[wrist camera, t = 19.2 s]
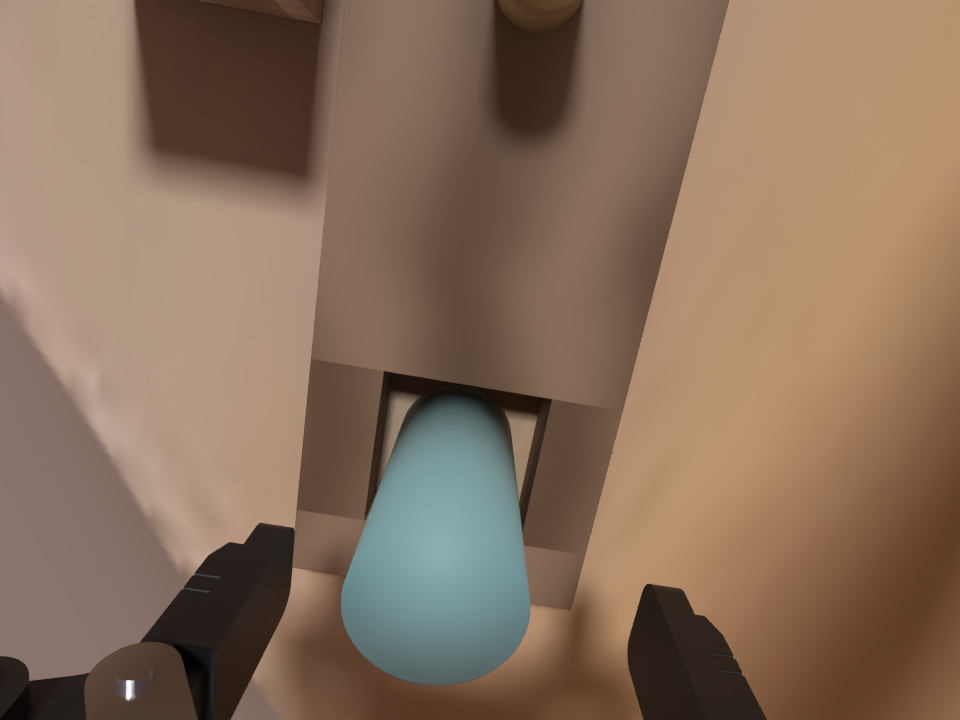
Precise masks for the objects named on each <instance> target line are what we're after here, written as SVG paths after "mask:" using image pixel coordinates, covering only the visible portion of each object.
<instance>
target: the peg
mask: <svg viewBox="0 0 960 720" xmlns="http://www.w3.org/2000/svg"><path fill="white" fill-rule="evenodd" d="M341 615H342V619H343V623H344V626H345V629H346V631H347V633H348V636H349V637H350V639H351V641H352V642H353V644H354V645H355V647H356V648H357V649H358V650H359V652H360V653H361V654H362V655H363V656H364V657H365V658H366V659H367V660H368V661H369V662H371V663H372V664H373V665H375V666H376V667H377V668H379V669H381V670H382V671H384V672H386V673H388V674H390V675H392V676H394V677H396V678H399V679H402V680H405V681H408V682H412V683H417V684H423V685H433V686H436V685H453V684H459V683H464V682H468V681H471V680H474V679H477V678H479V677H482V676H484V675H486V674H488V673H490V672H491V671H493V670H494V669H496V668H497V667H499V666H500V665H501V664H503V663H504V662H505V661H506V660H507V659H508V658H509V657H510V656H511V655H512V654H513V653H514V652H515V650H516V649H517V647H518V646H519V645H520V643H521V641H522V639H523V637H524V635H525V633H526V630H527V627H528V623H529V617H530V597H529V588H528V579H527V571H526V562H525V553H524V544H523V535H522V526H521V517H520V508H519V499H518V490H517V481H516V472H515V464H514V455H513V446H512V437H511V429H510V424H509V421H508V418H507V416H506V414H505V412H504V411H503V409H502V407H501V406H500V405H499V404H498V403H497V402H496V401H495V400H494V399H493V398H492V397H491V396H489V395H488V394H486V393H485V392H483V391H481V390H479V389H476V388H473V387H470V386H465V385H446V386H441V387H438V388H435V389H432V390H430V391H428V392H426V393H425V394H423V395H422V396H421V397H419V398H418V399H417V400H416V401H415V402H414V403H413V404H412V406H411V407H410V408H409V410H408V412H407V413H406V415H405V418H404V421H403V423H402V426H401V429H400V431H399V434H398V437H397V440H396V442H395V445H394V448H393V450H392V453H391V456H390V459H389V461H388V464H387V467H386V469H385V472H384V475H383V478H382V480H381V483H380V486H379V488H378V491H377V494H376V497H375V499H374V502H373V505H372V508H371V510H370V513H369V516H368V518H367V521H366V524H365V527H364V529H363V532H362V535H361V537H360V540H359V543H358V546H357V548H356V551H355V554H354V556H353V559H352V562H351V565H350V567H349V570H348V573H347V575H346V578H345V581H344V584H343V588H342V593H341Z"/></svg>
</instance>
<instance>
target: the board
mask: <svg viewBox="0 0 960 720" xmlns="http://www.w3.org/2000/svg"><path fill="white" fill-rule="evenodd" d="M728 3H729V0H345V8H344V18H343V29H342V39H341V50H340V60H339V71H338V81H337V91H336V102H335V112H334V123H333V133H332V144H331V154H330V165H329V175H328V186H327V196H326V207H325V217H324V228H323V238H322V249H321V259H320V270H319V280H318V291H317V301H316V312H315V322H314V333H313V343H312V354H311V364H310V375H309V385H308V396H307V406H306V417H305V427H304V438H303V448H302V459H301V469H300V480H299V490H298V501H297V511H296V522H295V540H294V552H293V565H292V568H299V569H305V570H312V571H318V572H325V573H331V574H338V575H344V576H346V575H347V573H348V570H349V567H350V565H351V562H352V559H353V556H354V554H355V551H356V548H357V546H358V543H359V540H360V537H361V535H362V532H363V529H364V527H365V524H366V521H367V518H368V516H369V513H370V510H371V508H372V505H373V502H374V499H375V497H376V494H377V491H375V488H376V480H377V473H378V466H379V458H380V451H381V444H382V436H383V429H384V422H385V415H386V407H387V400H388V393H389V385H390V378H391V372H393V373H399V374H405V375H411V376H417V377H423V378H429V379H435V380H441V381H447V382H453V383H459V384H465V385H471V386H476V387H482V388H488V389H494V390H500V391H506V392H512V393H518V394H524V395H530V396H536V397H542V399H541V404H540V408H539V413H538V418H537V422H536V427H535V432H534V436H533V441H532V445H531V450H530V455H529V459H528V464H527V469H526V473H525V478H524V482H523V487H522V492H521V496H520V501H519V508H520V517H521V526H522V535H523V544H524V553H525V562H526V571H527V579H528V588H529V597H530V604H534V605H540V606H547V607H553V608H560V609H566V610H571V608H572V604H573V600H574V596H575V593H576V589H577V585H578V581H579V577H580V573H581V569H582V566H583V562H584V558H585V554H586V550H587V546H588V542H589V539H590V535H591V531H592V527H593V523H594V519H595V515H596V512H597V508H598V504H599V500H600V496H601V492H602V489H603V485H604V481H605V477H606V473H607V469H608V465H609V462H610V458H611V454H612V450H613V446H614V442H615V438H616V435H617V431H618V427H619V423H620V419H621V415H622V411H623V408H624V404H625V400H626V396H627V392H628V388H629V384H630V381H631V377H632V373H633V369H634V365H635V361H636V357H637V354H638V350H639V346H640V342H641V338H642V334H643V330H644V327H645V323H646V319H647V315H648V311H649V307H650V304H651V300H652V296H653V292H654V288H655V284H656V280H657V277H658V273H659V269H660V265H661V261H662V257H663V253H664V250H665V246H666V242H667V238H668V234H669V230H670V226H671V223H672V219H673V215H674V211H675V207H676V203H677V199H678V196H679V192H680V188H681V184H682V180H683V176H684V172H685V169H686V165H687V161H688V157H689V153H690V149H691V145H692V142H693V138H694V134H695V130H696V126H697V122H698V119H699V115H700V111H701V107H702V103H703V99H704V95H705V92H706V88H707V84H708V80H709V76H710V72H711V68H712V65H713V61H714V57H715V53H716V49H717V45H718V41H719V38H720V34H721V30H722V26H723V22H724V18H725V14H726V11H727V7H728Z"/></svg>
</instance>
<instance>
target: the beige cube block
mask: <svg viewBox="0 0 960 720" xmlns="http://www.w3.org/2000/svg"><path fill="white" fill-rule="evenodd" d="M197 1H202V2H208V3H213V4H218V5H223V6H228V7H234V8H239V9H244V10H249V11H255V12H260V13H265V14H270V15H276V16H281V17H286V18H291V19H297V20H302V21H307V22H312V23H318V24H321V18H322V6H323V0H197Z"/></svg>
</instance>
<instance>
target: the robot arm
mask: <svg viewBox="0 0 960 720" xmlns="http://www.w3.org/2000/svg"><path fill="white" fill-rule="evenodd" d="M294 540H295V531H294V528H290V527H284V526H278V525H271V524H265V523H259V524H258V525H257V526H256V528H255V529H254V530H253V532H252V533H251V535H250V536H249V537H248V539H247V540H246V542H245V543H244V544H238V543H231V542H229V543H227V544H226V545H224V546H223V547H221V548H219V549H218V550H216V551H215V552H213V553H211V554H210V555H208V557H207V558H206V559H205V560H204V562H203V563H202V564H201V566H200V567H199V568H198V569H197V571H196V572H195V575H194V576H192V577H191V578H190V580H189V581H188V582H187V583H186V585H185V586H184V589H183V590H181V591H180V592H179V594H178V595H177V596H176V598H175V599H174V600H173V601H172V602H171V604H170V605H169V606H168V608H167V609H166V610H165V611H164V612H163V614H162V615H161V616H160V618H159V619H158V620H157V621H156V623H155V624H154V625H153V626H152V628H151V629H150V630H149V632H148V633H147V634H146V635H145V637H144V638H143V639H142V640H141V642H140V643H137V644H133V645H129V646H126V647H123V648H121V649H119V650H117V651H115V652H113V653H111V654H110V655H108V656H106V657H105V658H104V659H103V660H101V661H100V662H99V663H98V664H97V665H96V666H95V667H94V668H93V669H92V671H91V672H90V673H86V674H82V675H76V676H68V677H59V678H51V679H43V680H34V681H29V672H28V669H27V667H26V665H25V664H24V663H23V662H21V661H20V660H18V659H15V658H11V657H5V656H0V720H230V719H231V718H232V716H233V714H234V712H235V710H236V707H237V705H238V704H239V701H240V700H241V698H242V696H243V694H244V692H245V690H246V688H247V686H248V684H249V682H250V680H251V678H252V676H253V674H254V672H255V670H256V668H257V666H258V664H259V662H260V660H261V658H262V656H263V654H264V652H265V650H266V648H267V646H268V644H269V642H270V640H271V638H272V636H273V634H274V632H275V630H276V628H277V626H278V624H279V622H280V620H281V618H282V616H283V613H284V611H285V608H286V605H287V602H288V598H289V593H290V588H291V577H292V565H293V552H294ZM628 666H629V671H630V674H631V678H632V681H633V685H634V688H635V692H636V695H637V699H638V702H639V706H640V709H641V713H642V716H643V720H767V719H766V717H765V715H764V713H763V712H762V710H761V708H760V706H759V704H758V702H757V700H756V698H755V696H754V694H753V692H752V690H751V688H750V687H749V685H748V683H747V681H746V679H745V677H744V676H742V671H741V669H740V667H739V665H738V663H737V662H736V660H735V659H733V654H732V652H731V650H730V648H729V646H728V644H727V642H726V640H725V638H724V637H723V635H722V634H721V633H720V632H719V631H718V630H717V629H716V628H715V627H714V625H713V624H712V623H711V622H710V621H709V620H708V619H707V618H706V617H705V616H700V615H695V614H694V612H693V610H692V607H691V605H690V603H689V601H688V599H687V597H686V595H685V593H684V591H683V590H682V589H679V588H673V587H666V586H660V585H653V584H647V585H646V586H645V587H644V589H643V592H642V595H641V599H640V602H639V606H638V609H637V613H636V616H635V619H634V623H633V626H632V630H631V633H630V637H629V641H628Z"/></svg>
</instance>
